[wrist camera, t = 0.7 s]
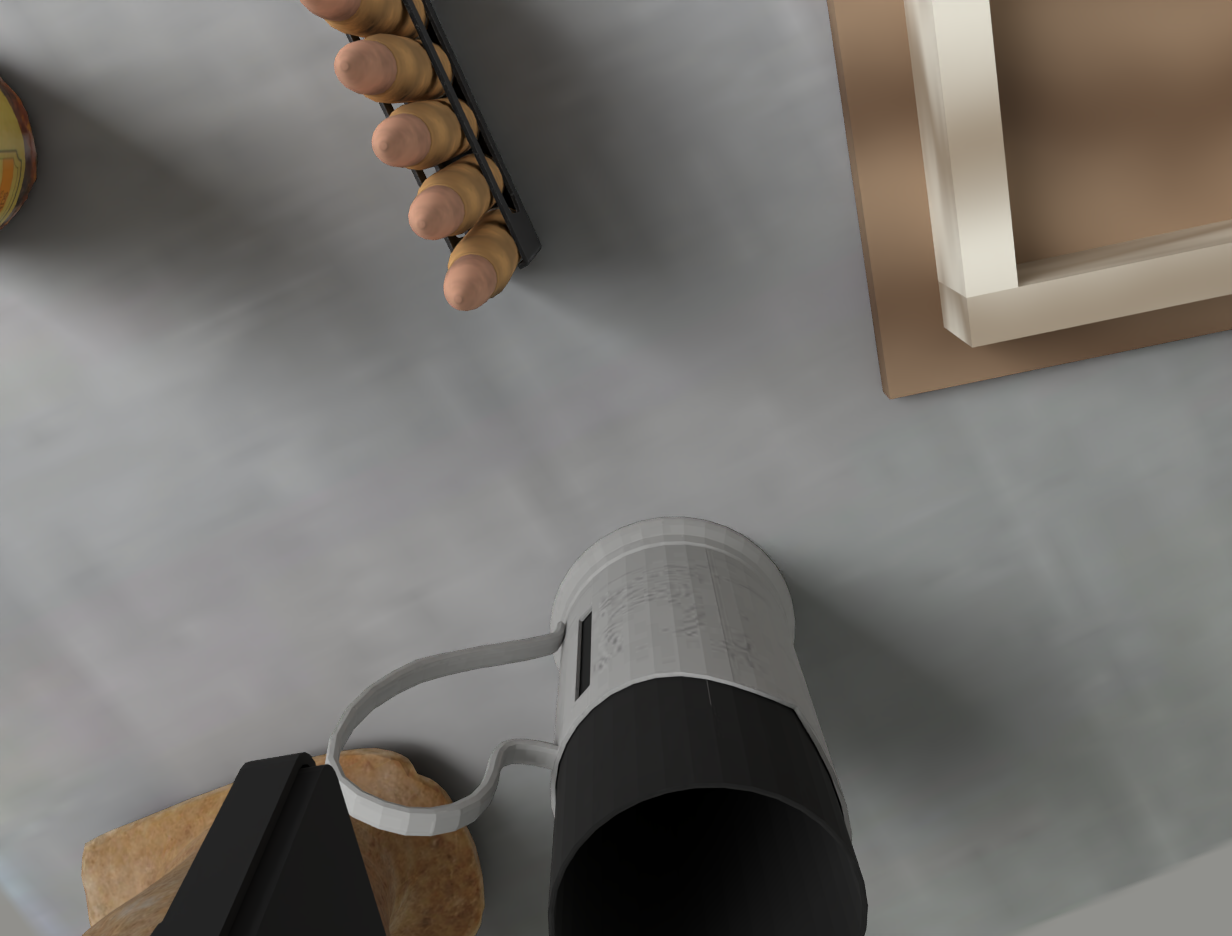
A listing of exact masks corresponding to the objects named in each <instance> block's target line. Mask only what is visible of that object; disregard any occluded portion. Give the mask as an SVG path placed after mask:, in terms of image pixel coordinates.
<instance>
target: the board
mask: <svg viewBox="0 0 1232 936" xmlns="http://www.w3.org/2000/svg"><path fill="white" fill-rule="evenodd" d="M827 4H828V11H829V18H830V25H831V32H832V39H833V46H834V53H835V60H836V67H837V74H838V81H839V88H840V95H841V102H842V109H843V116H844V123H845V130H846V137H847V144H848V151H849V158H850V165H851V172H852V179H853V186H854V193H855V199H856V206H857V213H858V220H859V227H860V234H861V241H862V248H863V255H864V262H865V269H866V276H867V283H868V290H869V297H870V304H871V311H872V318H873V325H874V332H875V339H876V346H877V353H878V360H879V367H880V374H881V381H882V388H883V392H884V393H885V394H886V395H887V396H888V398H889V399H894V398H899V397H904V396H909V395H914V394H919V393H923V392H928V391H933V390H938V389H943V388H948V387H953V386H958V385H962V384H967V383H972V382H977V381H982V380H987V379H992V378H997V377H1001V376H1006V375H1011V374H1016V373H1021V372H1026V371H1031V370H1036V369H1040V368H1045V367H1050V366H1055V365H1060V364H1065V363H1070V362H1075V361H1079V360H1084V359H1089V358H1094V357H1099V356H1104V355H1109V354H1114V353H1118V352H1123V351H1128V350H1133V349H1138V348H1143V347H1148V346H1153V345H1157V344H1162V343H1167V342H1172V341H1177V340H1182V339H1187V338H1192V337H1196V336H1201V335H1206V334H1211V333H1216V332H1221V331H1226V330H1231V329H1232V0H827Z"/></svg>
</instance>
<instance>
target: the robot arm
mask: <svg viewBox="0 0 1232 936" xmlns="http://www.w3.org/2000/svg"><path fill="white" fill-rule="evenodd" d="M150 936H386V933H385V930H384V926H383V923H382V920H381V917H380V913H379V910H378V907H377V904H376V900H375V897H374V894H373V891H372V887H371V884H370V881H369V878H368V874H367V871H366V868H365V865H364V861H363V858H362V855H361V852H360V848H359V845H358V842H357V839H356V835H355V832H354V829H353V826H352V822H351V819H350V816H349V813H348V809H347V806H346V803H345V800H344V796H343V793H342V790H341V787H340V783H339V780H338V777H337V775H336V772H335V770H334V769H333V767H332V766H331V765H329V764H325V765H319V766H316V763H315V761H314V760H313V758H312V757H311V755H309V754H308V753H306V752H303V753H297V754H291V755H285V756H279V757H273V758H267V759H261V760H256V761H250V762H247V763H245V764H244V765H243V767H242V768H241V769H240V771H239V773H238V775H237V777H236V779H235V781H234V783H233V785H232V787H231V789H230V791H229V792H228V794H227V796H226V798H225V800H224V802H223V804H222V806H221V808H220V810H219V812H218V814H217V816H216V818H215V820H214V822H213V824H212V826H211V827H210V829H209V831H208V833H207V835H206V837H205V839H204V841H203V843H202V845H201V847H200V849H199V851H198V853H197V855H196V857H195V859H194V861H193V862H192V864H191V866H190V868H189V870H188V872H187V874H186V876H185V878H184V880H183V882H182V884H181V886H180V888H179V890H178V892H177V894H176V896H175V898H174V899H173V901H172V903H171V905H170V907H169V909H168V911H167V913H166V915H165V917H164V919H163V921H162V922H161V923H159V924H158V925H157V926H156V928H155V929H154V931H153V932H152V933H151V935H150Z"/></svg>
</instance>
